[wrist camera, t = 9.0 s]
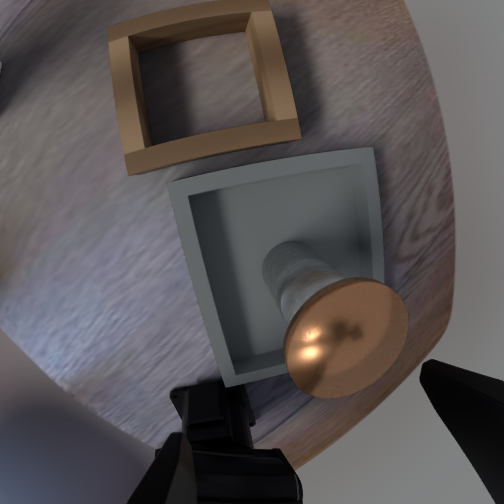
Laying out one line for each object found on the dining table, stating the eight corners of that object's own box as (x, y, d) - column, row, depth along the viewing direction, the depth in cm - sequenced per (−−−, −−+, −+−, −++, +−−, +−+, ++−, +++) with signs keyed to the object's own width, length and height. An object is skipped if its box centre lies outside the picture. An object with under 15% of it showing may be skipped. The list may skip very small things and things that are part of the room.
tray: (369, 326, 24) (383, 341, 22) (223, 367, 23) (225, 387, 20) (355, 148, 19) (372, 146, 17) (172, 181, 18) (166, 183, 16)
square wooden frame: (287, 142, 19) (301, 138, 16) (140, 174, 18) (128, 175, 15) (259, 16, 16) (267, -4, 13) (119, 44, 15) (107, 27, 12)
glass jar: (330, 294, 22) (403, 372, 12) (258, 313, 21) (295, 412, 12) (322, 221, 20) (411, 267, 10) (242, 239, 19) (277, 307, 10)
